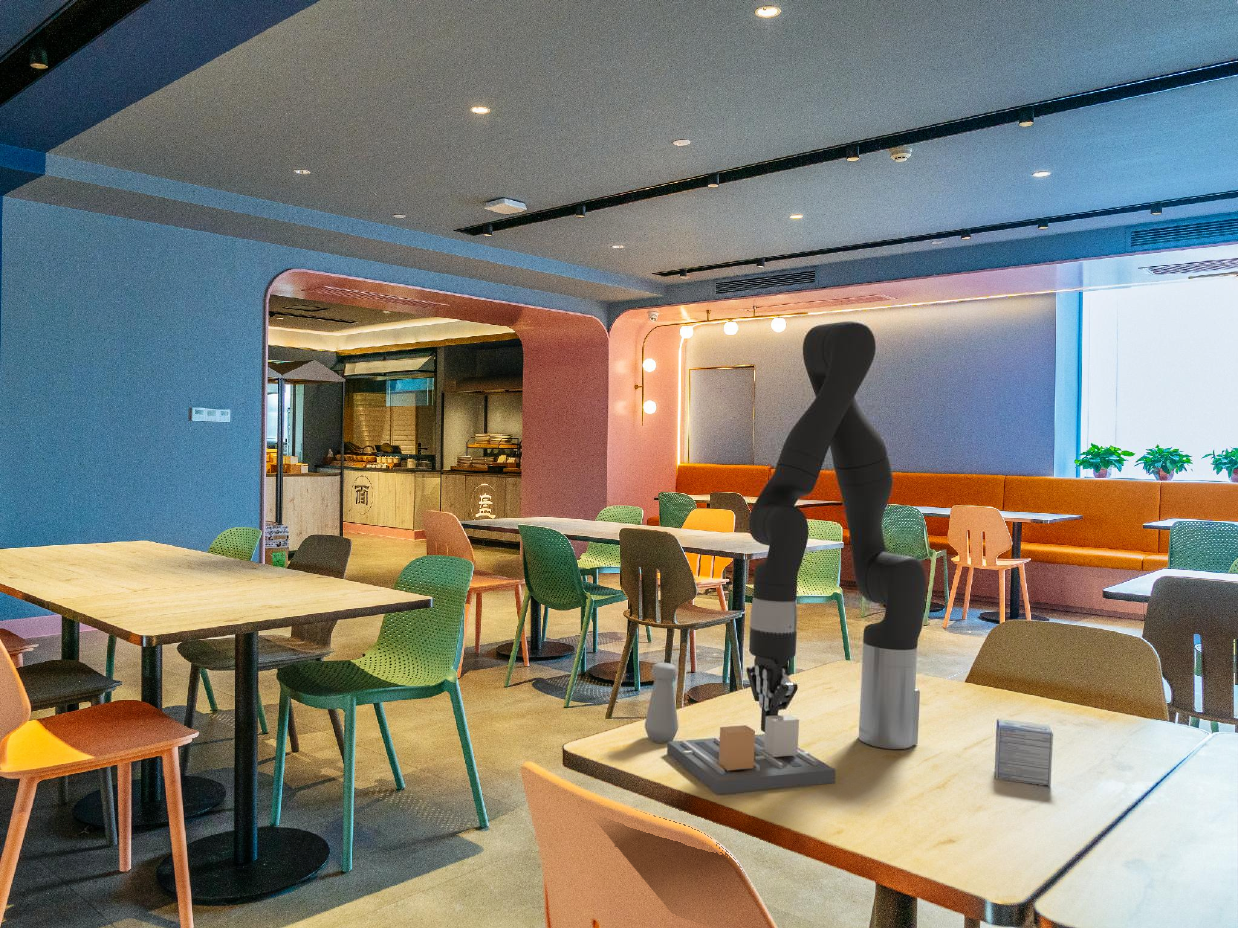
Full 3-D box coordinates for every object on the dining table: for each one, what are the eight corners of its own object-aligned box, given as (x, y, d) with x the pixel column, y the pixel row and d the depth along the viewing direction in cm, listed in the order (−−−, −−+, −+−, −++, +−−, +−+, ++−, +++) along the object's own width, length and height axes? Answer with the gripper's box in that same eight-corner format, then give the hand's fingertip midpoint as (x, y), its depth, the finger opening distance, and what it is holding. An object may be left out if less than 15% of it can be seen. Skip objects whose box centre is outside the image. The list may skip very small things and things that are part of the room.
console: (773, 744, 151) (774, 729, 151) (834, 782, 134) (835, 765, 134) (667, 753, 144) (667, 737, 144) (717, 794, 127) (718, 776, 127)
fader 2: (787, 748, 142) (789, 714, 142) (797, 754, 139) (799, 719, 139) (764, 751, 140) (765, 715, 140) (773, 756, 137) (774, 721, 137)
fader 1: (744, 761, 135) (745, 725, 135) (753, 767, 132) (755, 730, 132) (718, 763, 133) (720, 726, 133) (727, 770, 131) (729, 732, 130)
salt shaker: (675, 746, 148) (678, 669, 148) (641, 742, 149) (645, 666, 149) (679, 736, 153) (683, 661, 153) (647, 732, 155) (650, 659, 155)
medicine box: (1047, 778, 141) (1049, 724, 140) (1051, 787, 136) (1053, 732, 136) (993, 770, 143) (996, 717, 143) (995, 779, 139) (998, 724, 139)
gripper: (815, 633, 138) (810, 743, 138) (772, 618, 151) (768, 718, 151) (773, 635, 136) (769, 747, 136) (733, 619, 148) (729, 721, 148)
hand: (768, 731), depth 143 cm, fingers closed
